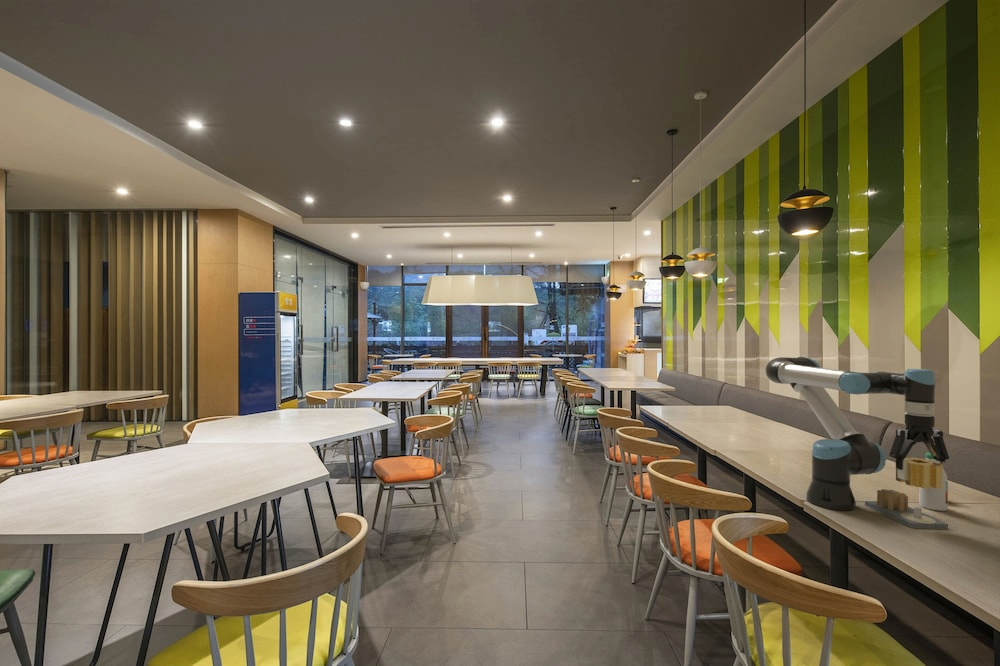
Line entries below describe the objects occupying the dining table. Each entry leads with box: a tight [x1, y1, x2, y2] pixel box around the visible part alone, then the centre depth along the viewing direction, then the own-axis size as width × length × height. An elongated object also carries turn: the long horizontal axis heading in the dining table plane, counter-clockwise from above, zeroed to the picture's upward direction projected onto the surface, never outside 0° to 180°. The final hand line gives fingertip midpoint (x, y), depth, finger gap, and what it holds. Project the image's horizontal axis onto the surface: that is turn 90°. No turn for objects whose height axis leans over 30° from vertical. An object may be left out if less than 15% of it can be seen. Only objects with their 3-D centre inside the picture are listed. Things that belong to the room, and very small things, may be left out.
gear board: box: [864, 488, 949, 530], centre depth 161 cm, size 12×20×7 cm, turn 178°
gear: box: [895, 456, 944, 489], centre depth 156 cm, size 10×10×8 cm
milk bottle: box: [918, 452, 949, 512], centre depth 170 cm, size 8×8×20 cm
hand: (918, 479), depth 156 cm, fingers closed on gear, 10 cm apart
